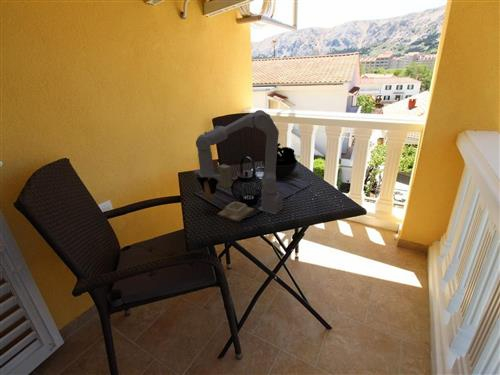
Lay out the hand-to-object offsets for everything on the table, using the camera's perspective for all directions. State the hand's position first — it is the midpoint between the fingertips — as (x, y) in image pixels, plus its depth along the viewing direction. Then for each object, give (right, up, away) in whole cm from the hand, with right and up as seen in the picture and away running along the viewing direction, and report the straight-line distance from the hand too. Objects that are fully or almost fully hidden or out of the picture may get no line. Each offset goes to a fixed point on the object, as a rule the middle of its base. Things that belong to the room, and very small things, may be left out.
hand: (209, 192), depth 117 cm
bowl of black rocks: (+36, +9, +42) cm, 56 cm away
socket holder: (+12, -9, +3) cm, 15 cm away
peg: (0, -3, +1) cm, 3 cm away
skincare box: (+4, +3, +32) cm, 32 cm away
